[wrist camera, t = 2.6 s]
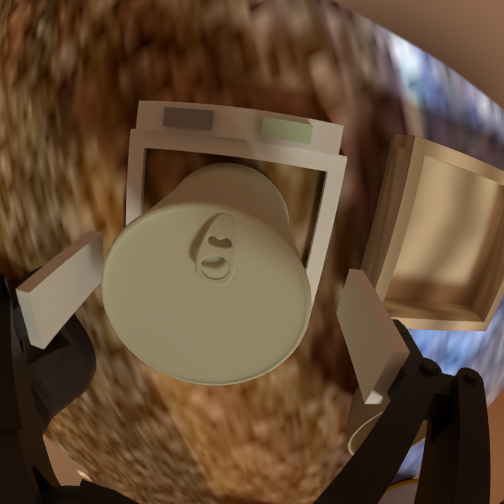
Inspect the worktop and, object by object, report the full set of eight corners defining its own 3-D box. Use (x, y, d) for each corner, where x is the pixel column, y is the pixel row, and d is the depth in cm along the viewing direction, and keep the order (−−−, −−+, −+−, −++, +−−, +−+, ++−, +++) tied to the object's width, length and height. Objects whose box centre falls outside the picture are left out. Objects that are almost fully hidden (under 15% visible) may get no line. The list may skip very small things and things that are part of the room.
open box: (349, 299, 26) (361, 325, 22) (392, 133, 20) (415, 135, 17) (467, 310, 26) (486, 330, 23) (512, 178, 21) (538, 188, 17)
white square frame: (130, 284, 25) (116, 304, 23) (136, 102, 20) (118, 100, 17) (309, 310, 26) (314, 333, 23) (349, 129, 20) (364, 130, 17)
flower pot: (355, 421, 32) (367, 468, 26) (320, 379, 29) (330, 435, 23) (428, 383, 30) (450, 427, 24) (408, 331, 27) (437, 381, 20)
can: (305, 183, 22) (352, 244, 11) (267, 292, 25) (272, 408, 14) (180, 148, 21) (103, 176, 10) (157, 262, 25) (95, 361, 14)
